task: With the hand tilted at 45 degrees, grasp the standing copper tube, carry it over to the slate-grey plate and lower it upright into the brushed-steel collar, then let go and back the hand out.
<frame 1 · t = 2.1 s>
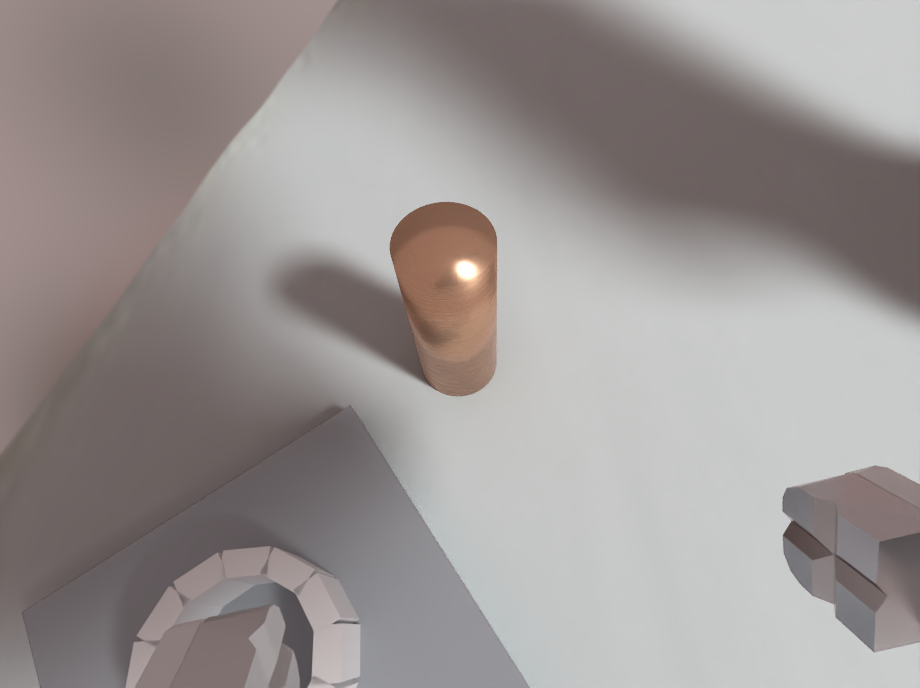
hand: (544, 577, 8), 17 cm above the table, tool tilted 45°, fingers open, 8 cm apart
copper tube: (459, 361, 29), on the table
collar plate: (279, 656, 23), on the table
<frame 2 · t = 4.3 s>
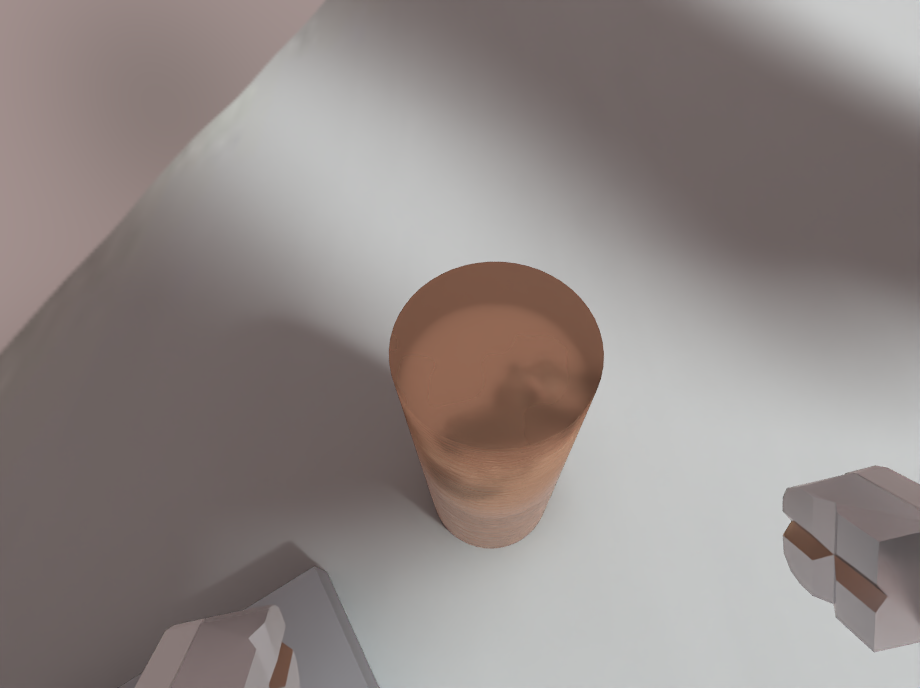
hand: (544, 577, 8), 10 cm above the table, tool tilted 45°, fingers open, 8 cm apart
copper tube: (489, 487, 19), on the table
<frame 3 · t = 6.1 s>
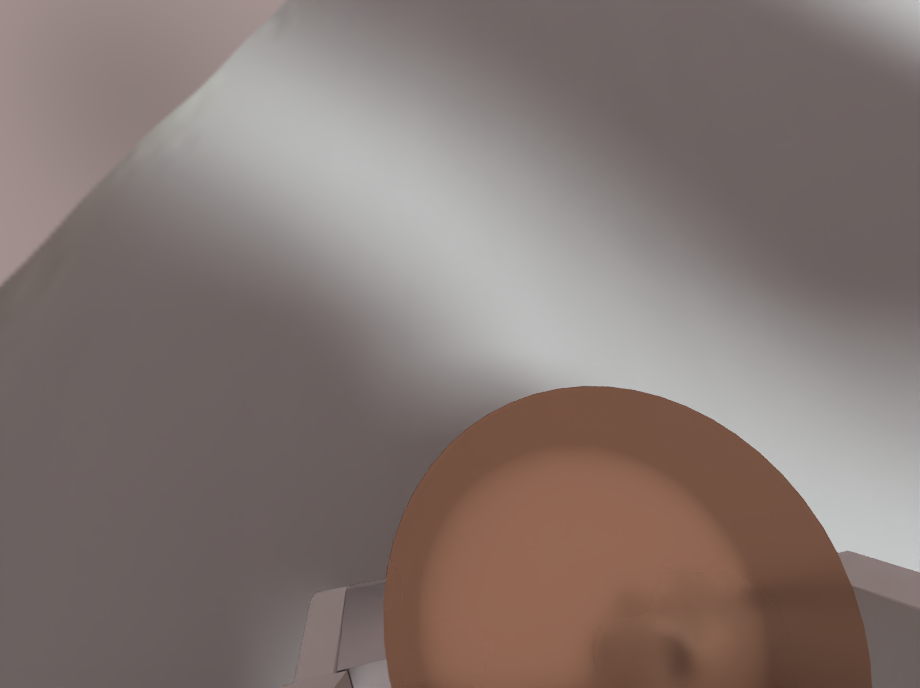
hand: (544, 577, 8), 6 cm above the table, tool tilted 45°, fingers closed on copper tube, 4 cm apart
copper tube: (526, 634, 13), on the table, touching gripper
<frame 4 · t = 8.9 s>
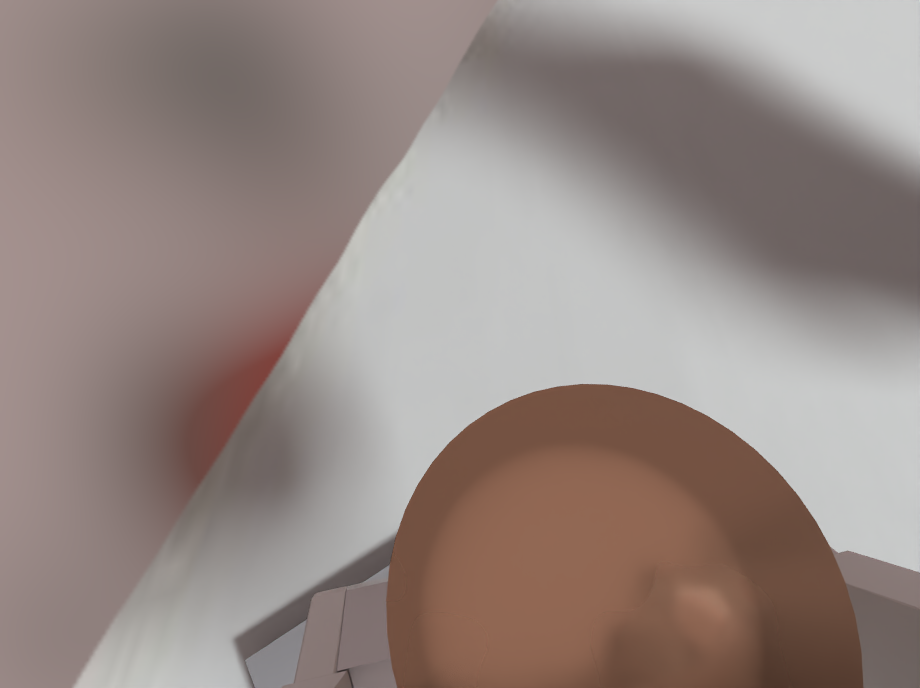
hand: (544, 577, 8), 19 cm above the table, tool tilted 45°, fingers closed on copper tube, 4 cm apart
copper tube: (526, 631, 13), point 13 cm above the table, touching gripper
when the fingers open (9 cm above the table, at t = 11.8 s): copper tube drops 1 cm, resting on collar plate.
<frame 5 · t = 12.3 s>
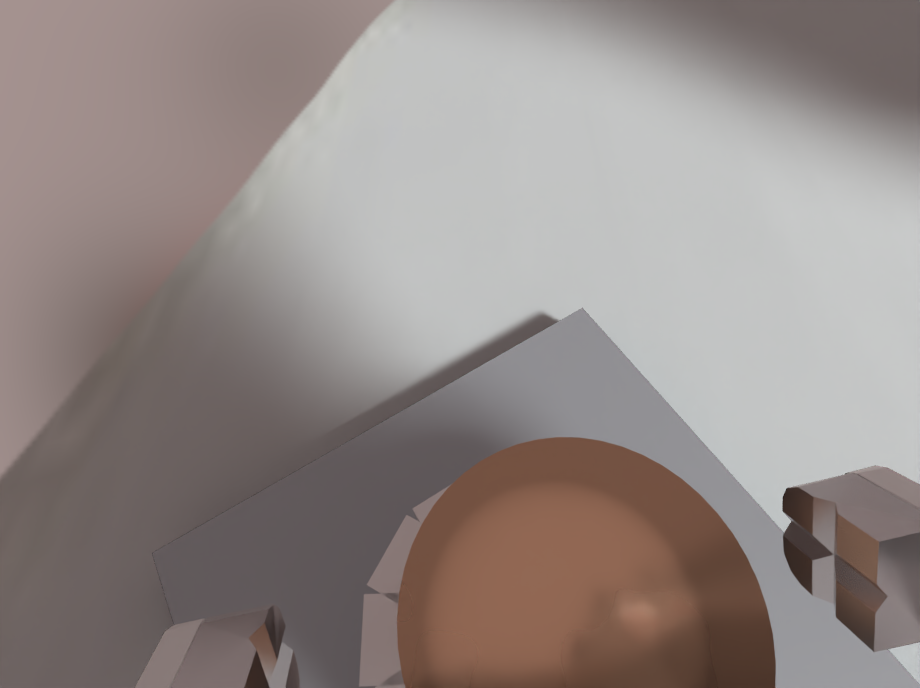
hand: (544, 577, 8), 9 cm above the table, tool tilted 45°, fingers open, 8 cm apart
copper tube: (520, 634, 15), point 2 cm above the table, touching collar plate
collar plate: (517, 637, 16), on the table
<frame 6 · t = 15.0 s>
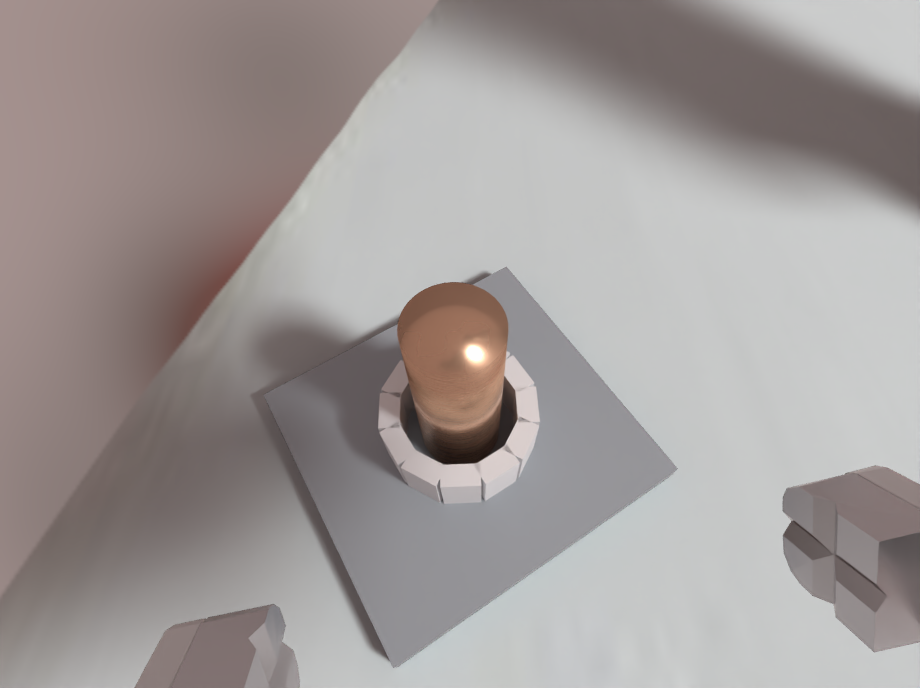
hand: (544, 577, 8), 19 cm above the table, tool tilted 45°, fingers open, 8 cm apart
copper tube: (460, 429, 28), point 2 cm above the table, touching collar plate
collar plate: (461, 439, 29), on the table
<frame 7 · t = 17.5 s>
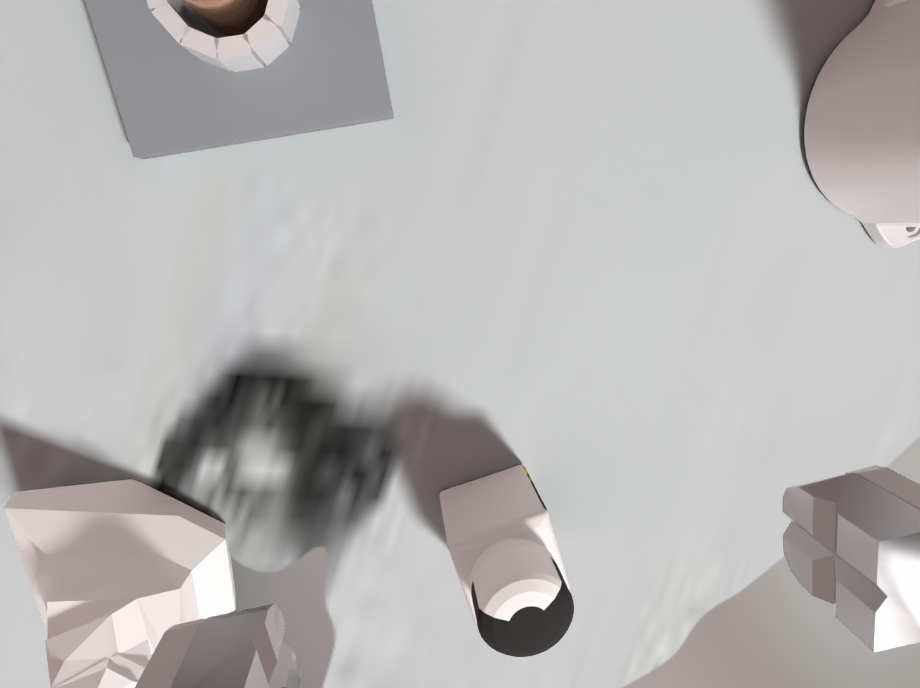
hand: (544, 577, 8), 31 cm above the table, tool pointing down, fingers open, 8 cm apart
medicine bottle: (492, 512, 44), on the table
soft serve ice cream: (155, 551, 41), on the table
collar plate: (239, 9, 33), on the table
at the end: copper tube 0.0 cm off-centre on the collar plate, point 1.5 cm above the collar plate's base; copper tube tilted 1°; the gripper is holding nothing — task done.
